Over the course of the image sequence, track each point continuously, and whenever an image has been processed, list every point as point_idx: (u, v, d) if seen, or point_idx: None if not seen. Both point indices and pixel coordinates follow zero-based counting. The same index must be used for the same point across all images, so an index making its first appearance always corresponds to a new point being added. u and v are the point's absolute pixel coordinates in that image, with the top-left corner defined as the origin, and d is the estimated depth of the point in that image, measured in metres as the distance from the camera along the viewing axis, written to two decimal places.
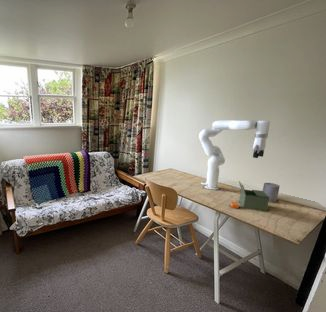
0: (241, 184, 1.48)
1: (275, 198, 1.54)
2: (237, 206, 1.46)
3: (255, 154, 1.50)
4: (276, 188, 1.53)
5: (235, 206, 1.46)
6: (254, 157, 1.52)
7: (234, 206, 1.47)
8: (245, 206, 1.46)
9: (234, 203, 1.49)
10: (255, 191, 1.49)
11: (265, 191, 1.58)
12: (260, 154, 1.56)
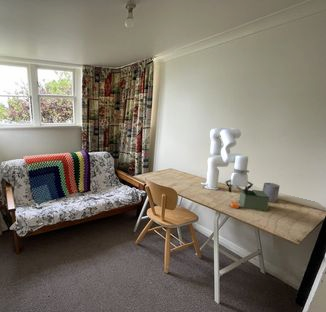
0: (236, 186, 1.50)
1: (275, 198, 1.54)
2: (237, 206, 1.46)
3: None
4: (276, 188, 1.53)
5: (235, 206, 1.46)
6: (229, 191, 1.49)
7: (234, 206, 1.47)
8: (245, 206, 1.46)
9: (234, 203, 1.49)
10: (255, 191, 1.49)
11: (265, 191, 1.58)
12: (244, 191, 1.44)
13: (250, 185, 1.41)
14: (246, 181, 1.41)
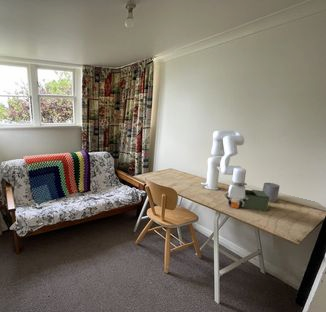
0: None
1: (275, 198, 1.54)
2: (237, 206, 1.46)
3: (228, 201, 1.50)
4: (276, 188, 1.53)
5: (235, 206, 1.46)
6: (229, 204, 1.50)
7: (234, 206, 1.47)
8: (245, 206, 1.46)
9: (234, 203, 1.49)
10: (255, 191, 1.49)
11: (265, 191, 1.58)
12: (239, 204, 1.47)
13: (245, 198, 1.44)
14: (243, 193, 1.43)
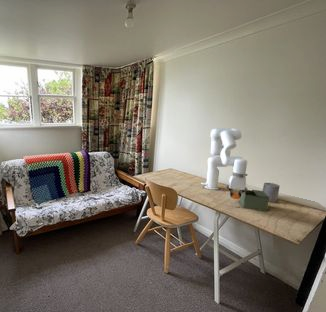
0: None
1: (275, 198, 1.54)
2: (238, 197, 1.45)
3: (230, 192, 1.49)
4: (276, 188, 1.53)
5: (235, 197, 1.46)
6: (230, 195, 1.50)
7: (235, 197, 1.46)
8: (245, 206, 1.46)
9: (235, 194, 1.48)
10: (255, 191, 1.49)
11: (265, 191, 1.58)
12: None
13: (244, 189, 1.44)
14: (244, 184, 1.42)
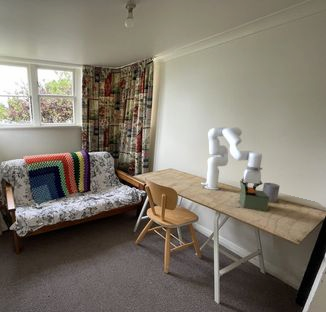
0: (243, 184, 1.47)
1: (275, 198, 1.54)
2: (253, 191, 1.45)
3: (245, 187, 1.49)
4: (276, 188, 1.53)
5: (250, 191, 1.46)
6: None
7: (250, 191, 1.46)
8: (245, 206, 1.46)
9: (249, 188, 1.48)
10: (255, 191, 1.49)
11: (265, 191, 1.58)
12: None
13: (259, 183, 1.45)
14: (259, 178, 1.43)
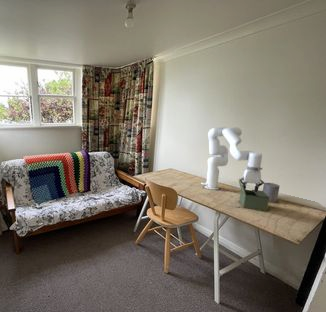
0: (241, 184, 1.48)
1: (275, 198, 1.54)
2: None
3: None
4: (276, 188, 1.53)
5: None
6: None
7: None
8: (245, 206, 1.46)
9: None
10: None
11: (265, 191, 1.58)
12: (255, 189, 1.47)
13: (261, 183, 1.44)
14: (259, 178, 1.43)
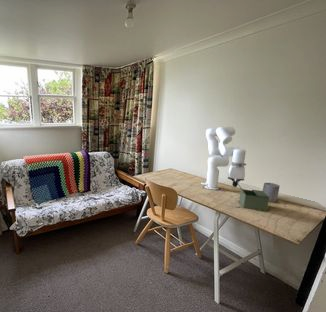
0: None
1: (275, 198, 1.54)
2: None
3: None
4: (276, 188, 1.53)
5: None
6: (233, 185, 1.53)
7: None
8: (245, 206, 1.46)
9: None
10: (255, 191, 1.49)
11: (265, 191, 1.58)
12: None
13: (241, 179, 1.49)
14: (243, 174, 1.46)
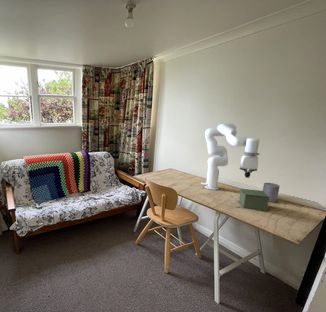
0: None
1: (275, 198, 1.54)
2: None
3: (245, 173, 1.48)
4: (276, 188, 1.53)
5: None
6: (245, 176, 1.48)
7: None
8: (245, 206, 1.46)
9: None
10: (255, 191, 1.49)
11: (265, 191, 1.58)
12: None
13: (254, 169, 1.44)
14: (256, 164, 1.42)
